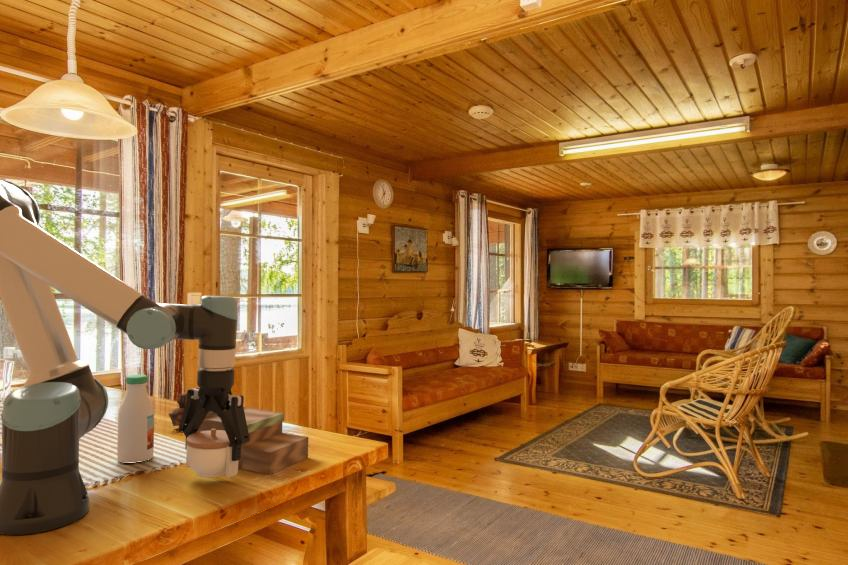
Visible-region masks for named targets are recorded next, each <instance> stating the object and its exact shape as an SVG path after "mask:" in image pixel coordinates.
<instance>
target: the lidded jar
mask: <svg viewBox="0 0 848 565" xmlns="http://www.w3.org/2000/svg"><path fill="white" fill-rule="evenodd" d="M235 439H236V438H235ZM185 442H186V444H187V447H186V449H185V450H186V456H187V459H188V463H189V465H190V467H189V468H191V470H192V471H193V472H195V474H196V476H197V477H201V478H218V477H222V476H223V475H226V461H227V446H228V445H230V441H229V439H228V436H227V434H226V431H224V430H216V429H211V430H210V431H202V432H197V433H194V434H191V435H189V436H188V437H187V438H186V437H185Z"/></svg>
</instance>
